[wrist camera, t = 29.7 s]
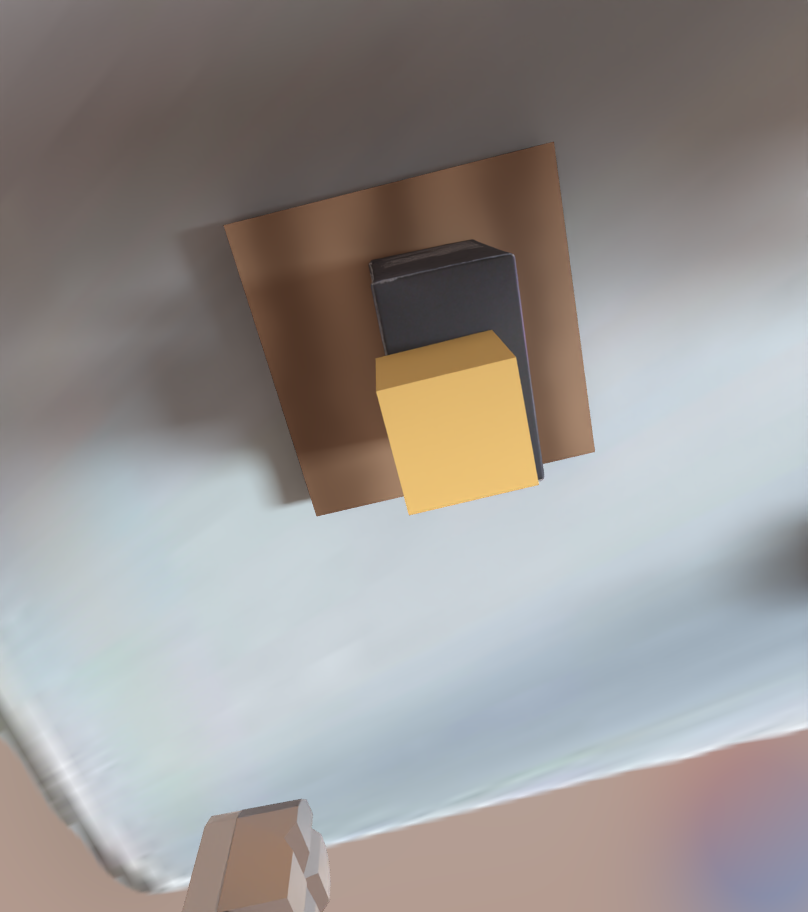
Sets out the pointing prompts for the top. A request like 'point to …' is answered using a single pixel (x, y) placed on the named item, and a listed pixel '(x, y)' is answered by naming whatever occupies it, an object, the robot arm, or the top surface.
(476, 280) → the small box
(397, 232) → the base board
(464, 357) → the mustard block
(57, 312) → the top surface
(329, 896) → the robot arm
